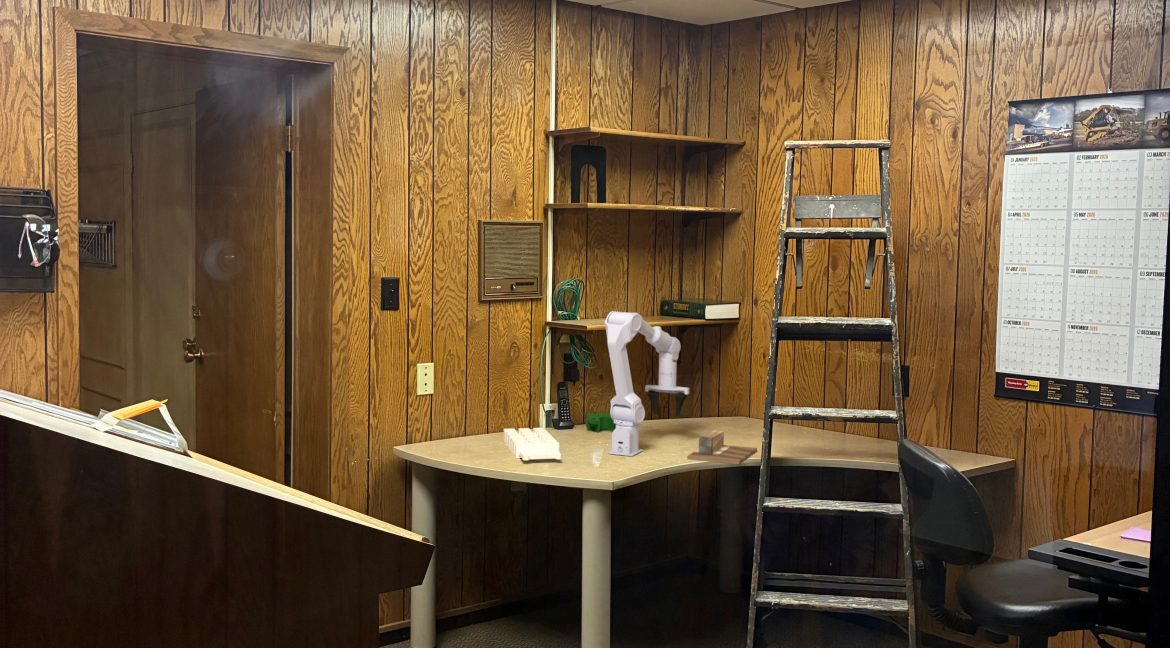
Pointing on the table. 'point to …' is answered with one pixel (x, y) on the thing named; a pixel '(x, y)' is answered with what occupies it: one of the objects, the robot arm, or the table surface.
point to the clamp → (600, 422)
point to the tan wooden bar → (711, 442)
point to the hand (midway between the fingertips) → (666, 414)
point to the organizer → (531, 443)
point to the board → (725, 454)
